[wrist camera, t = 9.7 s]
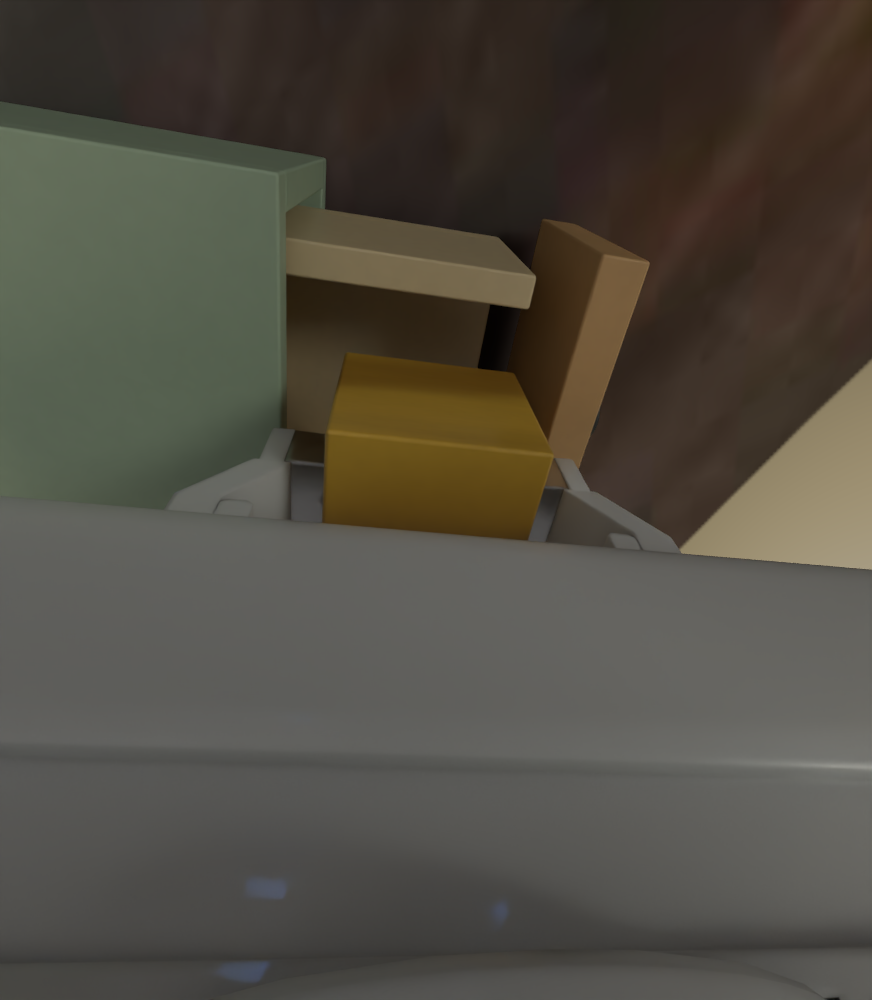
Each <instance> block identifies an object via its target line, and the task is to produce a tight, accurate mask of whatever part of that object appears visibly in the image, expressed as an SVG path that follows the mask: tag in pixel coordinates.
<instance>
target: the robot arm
mask: <svg viewBox="0 0 872 1000" xmlns="http://www.w3.org/2000/svg"><path fill="white" fill-rule="evenodd" d="M324 452H325V434H323V433H315V432H307V431H299V430H296V431H295V429H283V428H273V429H272V431H271V433H270V436H269V438H268V440H267V443H266V445H265V447H264V449H263V452H262V454H261V456H260V458H259V459H256V458H253V459H250V460H248V461H246V462H244V463H241V464H239V465H237V466H234V467H232V468H230V469H228V470H225V471H223V472H221V473H218V474H216V475H214V476H212V477H209V478H207V479H205V480H202V481H200V482H198V483H196V484H193V485H191V486H189V487H186V488H184V489H182V490H180V491H177V492H175V493H174V494H173V496H172V497H171V499H170V500H169V502H168V503H167V505H166V507H165V508H164V510H162V509H151V508H139V507H127V506H115V505H103V504H91V503H79V502H68V501H56V500H44V499H32V498H20V497H8V496H0V1000H872V570H868V569H856V568H844V567H833V566H821V565H810V564H798V563H797V564H796V563H786V562H774V561H762V560H750V559H739V558H727V557H715V556H703V555H691V554H682V553H681V552H680V550H679V549H678V547H677V546H676V544H675V543H674V541H673V540H672V539H671V537H669V536H668V535H666V534H664V533H663V532H661V531H659V530H658V529H656V528H654V527H653V526H651V525H650V524H648V523H646V522H645V521H643V520H641V519H640V518H638V517H636V516H635V515H633V514H631V513H630V512H628V511H626V510H625V509H623V508H621V507H620V506H618V505H617V504H615V503H613V502H612V501H610V500H608V499H607V498H605V497H603V496H602V495H600V494H598V493H597V492H590V490H589V488H588V486H587V484H586V483H585V481H584V479H583V477H582V475H581V474H580V472H579V470H578V468H577V466H576V464H575V463H574V461H573V460H571V459H566V458H553V461H552V464H551V468H550V471H549V474H548V477H547V481H546V484H545V487H544V490H543V493H542V497H541V500H540V503H539V506H538V510H537V513H536V516H535V519H534V522H533V526H532V529H531V532H530V535H529V539H528V541H526V540H515V539H503V538H491V537H479V536H468V535H456V534H444V533H433V532H421V531H409V530H398V529H386V528H374V527H362V526H351V525H339V524H327V523H322V505H323V478H324Z"/></svg>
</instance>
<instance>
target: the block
mask: <svg viewBox="0 0 872 1000" xmlns="http://www.w3.org/2000/svg"><path fill="white" fill-rule="evenodd" d="M553 458H554V454H553V452H552V449H551V447H550V445H549V443H548V441H547V439H546V437H545V435H544V433H543V431H542V429H541V427H540V425H539V423H538V421H537V419H536V417H535V415H534V413H533V411H532V409H531V407H530V404H529V402H528V400H527V398H526V396H525V394H524V392H523V390H522V388H521V386H520V384H519V382H518V380H517V378H516V376H515V374H514V373H509V372H502V371H494V370H486V369H478V368H470V367H462V366H454V365H446V364H438V363H430V362H422V361H414V360H406V359H398V358H390V357H382V356H374V355H366V354H358V353H350V352H348V353H346V354H345V356H344V360H343V364H342V368H341V372H340V376H339V380H338V384H337V388H336V392H335V396H334V399H333V403H332V407H331V411H330V415H329V419H328V423H327V427H326V431H325V452H324V478H323V505H322V523H327V524H339V525H351V526H362V527H374V528H386V529H398V530H409V531H421V532H433V533H444V534H456V535H468V536H479V537H491V538H503V539H515V540H526V541H528V539H529V535H530V532H531V529H532V526H533V522H534V519H535V516H536V513H537V510H538V506H539V503H540V500H541V497H542V493H543V490H544V487H545V484H546V481H547V477H548V474H549V471H550V468H551V464H552V461H553Z"/></svg>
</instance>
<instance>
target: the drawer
mask: <svg viewBox="0 0 872 1000" xmlns="http://www.w3.org/2000/svg"><path fill="white" fill-rule="evenodd" d="M648 267H649V261H647V260H645V259H643V258H641V257H639V256H637V255H635V254H633V253H631V252H629V251H627V250H625V249H623V248H621V247H619V246H617V245H615V244H613V243H611V242H610V241H608V240H606V239H604V238H602V237H600V236H598V235H596V234H594V233H592V232H590V231H588V230H586V229H584V228H582V227H580V226H578V225H576V224H571V223H565V222H559V221H553V220H547V219H543V220H542V222H541V226H540V230H539V234H538V239H537V243H536V247H535V252H534V256H533V260H532V264H531V269H530V270H529V269H528V267H527V266H526V265H525V264H524V263H523V262H522V261H521V260H520V259H519V258H518V257H517V256H516V255H515V254H514V253H513V252H512V251H511V250H510V249H509V248H508V247H507V246H506V245H505V244H504V243H503V242H502V241H501V240H500V239H499V238H498V237H494V236H488V235H481V234H475V233H469V232H463V231H457V230H450V229H444V228H438V227H432V226H425V225H419V224H413V223H407V222H401V221H394V220H388V219H382V218H376V217H370V216H363V215H357V214H351V213H345V212H338V211H332V210H326V209H320V208H314V207H307V206H301V205H296V206H295V207H294V208H292V209H291V210H289V211H288V212H286V353H287V429H295V431H296V430H299V431H307V432H315V433H323V434H325V431H326V427H327V423H328V419H329V415H330V411H331V407H332V403H333V399H334V396H335V392H336V388H337V384H338V380H339V376H340V372H341V368H342V364H343V360H344V356H345V354H346V353H348V352H350V353H358V354H366V355H374V356H382V357H390V358H398V359H406V360H414V361H422V362H430V363H438V364H446V365H454V366H462V367H470V368H478V363H479V358H480V353H481V348H482V343H483V338H484V333H485V328H486V323H487V318H488V313H489V309H490V304H491V305H498V306H505V307H512V308H519V309H521V312H520V316H519V320H518V325H517V329H516V333H515V337H514V342H513V346H512V350H511V355H510V359H509V363H508V367H507V372H509V373H514V374H515V376H516V378H517V380H518V382H519V384H520V386H521V388H522V390H523V392H524V394H525V396H526V398H527V400H528V402H529V404H530V407H531V409H532V411H533V413H534V415H535V417H536V419H537V421H538V423H539V425H540V427H541V429H542V431H543V433H544V435H545V437H546V439H547V441H548V443H549V445H550V447H551V449H552V452H553V454H554V458H566V459H571V460H573V461H574V463H575V464H576V466H577V468H578V469H579V466H580V463H581V460H582V457H583V454H584V452H585V449H586V446H587V443H588V440H589V437H590V436H591V435H592V434H593V432H594V430H595V428H596V426H597V423H598V420H599V415H600V406H601V403H602V400H603V397H604V394H605V391H606V388H607V385H608V383H609V380H610V377H611V374H612V371H613V368H614V365H615V362H616V360H617V357H618V354H619V351H620V348H621V345H622V342H623V339H624V337H625V334H626V331H627V328H628V325H629V322H630V319H631V316H632V314H633V311H634V308H635V305H636V302H637V299H638V296H639V293H640V291H641V288H642V285H643V282H644V279H645V276H646V273H647V270H648Z"/></svg>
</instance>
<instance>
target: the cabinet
mask: <svg viewBox="0 0 872 1000" xmlns="http://www.w3.org/2000/svg"><path fill="white" fill-rule="evenodd" d="M325 190H326V159H325V158H324V157H319V156H313V155H307V154H301V153H295V152H290V151H284V150H278V149H272V148H267V147H261V146H255V145H249V144H244V143H238V142H232V141H226V140H220V139H215V138H209V137H203V136H197V135H192V134H186V133H180V132H174V131H168V130H163V129H157V128H151V127H145V126H140V125H134V124H128V123H122V122H117V121H111V120H105V119H99V118H93V117H88V116H82V115H76V114H70V113H65V112H59V111H53V110H47V109H42V108H36V107H30V106H24V105H18V104H13V103H7V102H1V101H0V496H8V497H20V498H32V499H44V500H56V501H68V502H79V503H91V504H103V505H115V506H127V507H139V508H151V509H162V510H164V508H165V507H166V505H167V503H168V502H169V500H170V499H171V497H172V496H173V494H174V493H175V492H177V491H180V490H182V489H184V488H186V487H189V486H191V485H193V484H196V483H198V482H200V481H202V480H205V479H207V478H209V477H212V476H214V475H216V474H218V473H221V472H223V471H225V470H228V469H230V468H232V467H234V466H237V465H239V464H241V463H244V462H246V461H248V460H250V459H253V458H256V459H259V458H260V456H261V454H262V452H263V449H264V447H265V445H266V443H267V440H268V438H269V436H270V433H271V431H272V429H273V428H283V429H287V353H286V212H288V211H289V210H291V209H292V208H294V207H295V206H296V205H301V206H307V207H314V208H320V209H325Z"/></svg>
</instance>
